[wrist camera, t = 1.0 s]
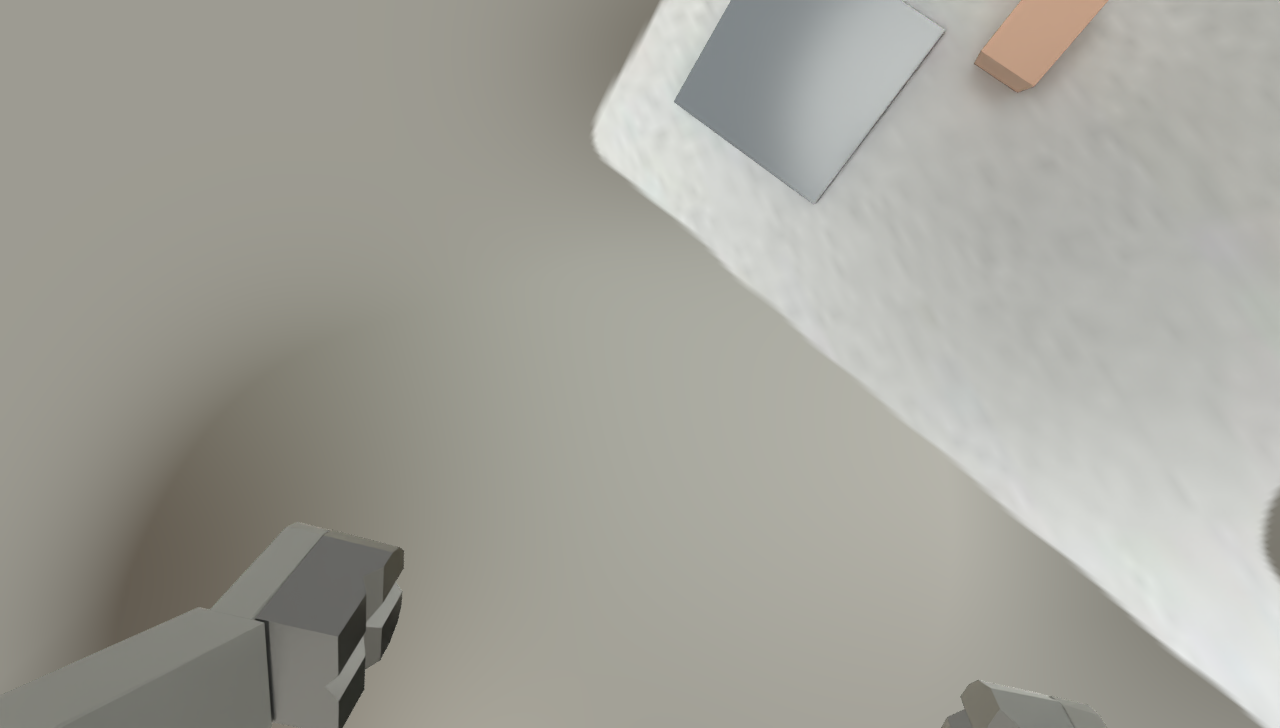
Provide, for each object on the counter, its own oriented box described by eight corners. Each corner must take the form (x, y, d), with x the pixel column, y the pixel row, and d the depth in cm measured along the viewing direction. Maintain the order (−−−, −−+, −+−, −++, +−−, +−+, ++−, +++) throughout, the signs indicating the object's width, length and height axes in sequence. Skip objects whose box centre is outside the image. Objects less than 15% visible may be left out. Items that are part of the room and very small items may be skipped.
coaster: (781, -79, 39) (777, -83, 38) (944, 31, 38) (944, 29, 37) (678, 102, 45) (673, 101, 44) (816, 202, 44) (813, 204, 43)
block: (1042, -23, 35) (1067, -58, 28) (1090, 7, 35) (1126, -21, 28) (974, 63, 38) (980, 51, 31) (1017, 92, 37) (1033, 86, 30)
